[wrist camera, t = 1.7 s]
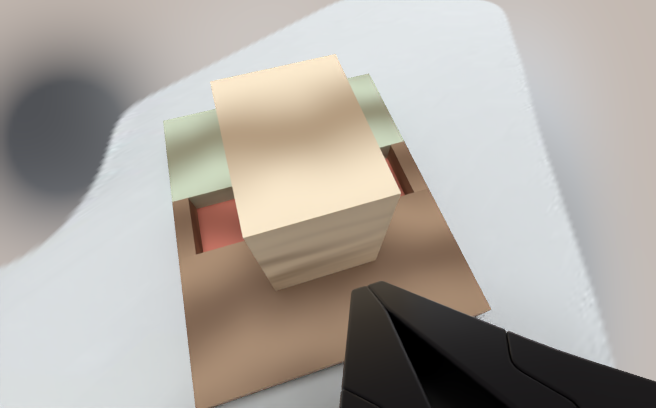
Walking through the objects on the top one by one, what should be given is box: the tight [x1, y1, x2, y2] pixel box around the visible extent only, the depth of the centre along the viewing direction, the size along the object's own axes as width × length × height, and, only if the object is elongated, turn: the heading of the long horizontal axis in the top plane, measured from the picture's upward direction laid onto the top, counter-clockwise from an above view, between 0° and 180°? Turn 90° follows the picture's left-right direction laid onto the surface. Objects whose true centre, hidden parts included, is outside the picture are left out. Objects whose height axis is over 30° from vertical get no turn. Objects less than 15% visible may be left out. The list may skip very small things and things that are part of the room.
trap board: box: [163, 74, 491, 408], centre depth 23 cm, size 19×16×2 cm
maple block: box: [210, 54, 401, 291], centre depth 18 cm, size 8×6×8 cm
